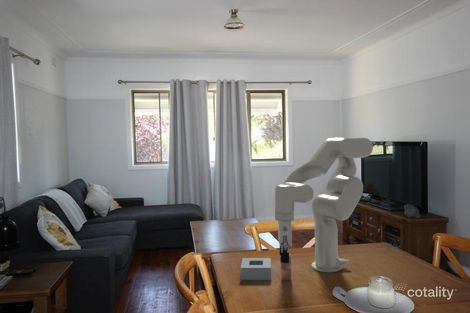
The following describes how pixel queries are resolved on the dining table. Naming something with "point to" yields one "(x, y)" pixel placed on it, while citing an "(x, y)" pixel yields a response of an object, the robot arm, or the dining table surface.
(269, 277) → the socket block
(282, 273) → the peg
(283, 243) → the robot arm
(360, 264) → the dining table surface
